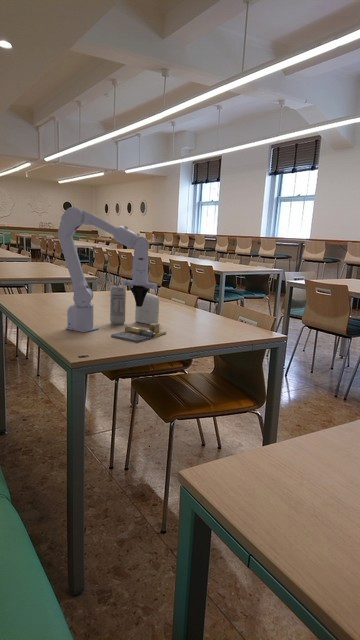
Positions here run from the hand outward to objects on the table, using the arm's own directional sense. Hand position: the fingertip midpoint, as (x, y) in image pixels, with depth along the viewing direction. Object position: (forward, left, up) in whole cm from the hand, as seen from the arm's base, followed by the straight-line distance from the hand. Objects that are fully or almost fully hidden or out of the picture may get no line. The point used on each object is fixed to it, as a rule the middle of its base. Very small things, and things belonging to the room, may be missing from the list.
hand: (139, 306), depth 156 cm
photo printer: (-6, +13, -10) cm, 17 cm away
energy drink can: (-14, +4, -10) cm, 17 cm away
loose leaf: (+5, -2, -9) cm, 11 cm away
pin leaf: (+6, -10, -9) cm, 15 cm away
